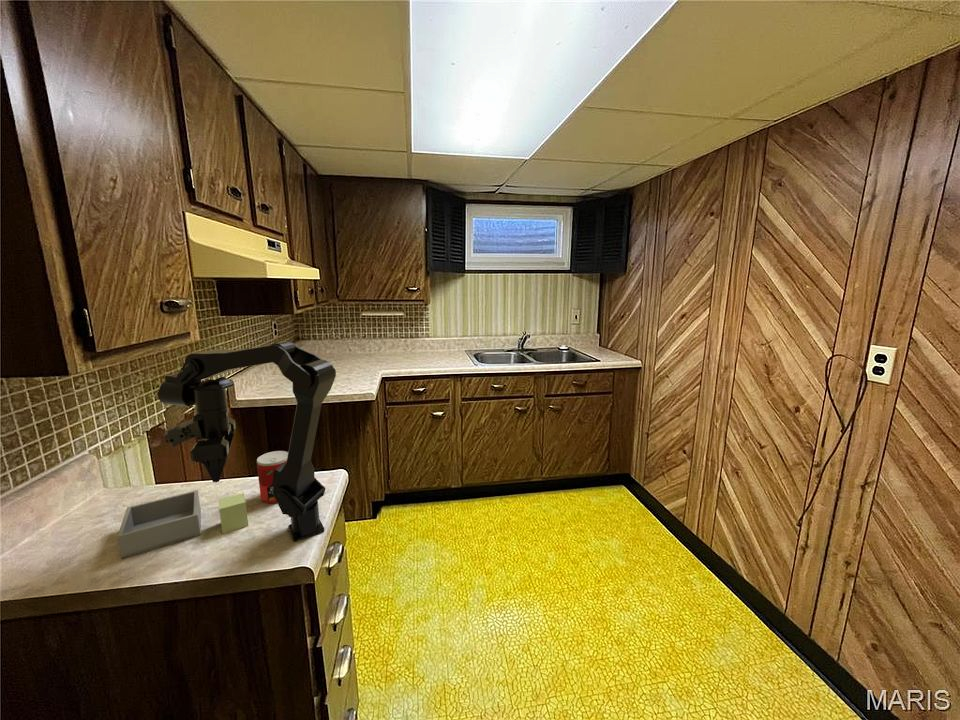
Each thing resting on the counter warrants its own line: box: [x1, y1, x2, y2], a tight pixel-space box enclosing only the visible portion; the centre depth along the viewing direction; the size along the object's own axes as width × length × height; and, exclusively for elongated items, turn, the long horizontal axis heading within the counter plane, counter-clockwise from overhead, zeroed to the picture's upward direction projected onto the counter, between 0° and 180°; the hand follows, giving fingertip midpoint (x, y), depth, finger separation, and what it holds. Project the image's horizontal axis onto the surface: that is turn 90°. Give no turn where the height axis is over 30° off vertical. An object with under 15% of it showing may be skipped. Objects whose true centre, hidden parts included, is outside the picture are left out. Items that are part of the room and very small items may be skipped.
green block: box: [218, 492, 249, 534], centre depth 89 cm, size 5×5×6 cm
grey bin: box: [116, 489, 202, 560], centre depth 86 cm, size 13×13×5 cm
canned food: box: [256, 450, 288, 504], centre depth 100 cm, size 8×8×11 cm
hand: (219, 472), depth 88 cm, fingers open, 9 cm apart
